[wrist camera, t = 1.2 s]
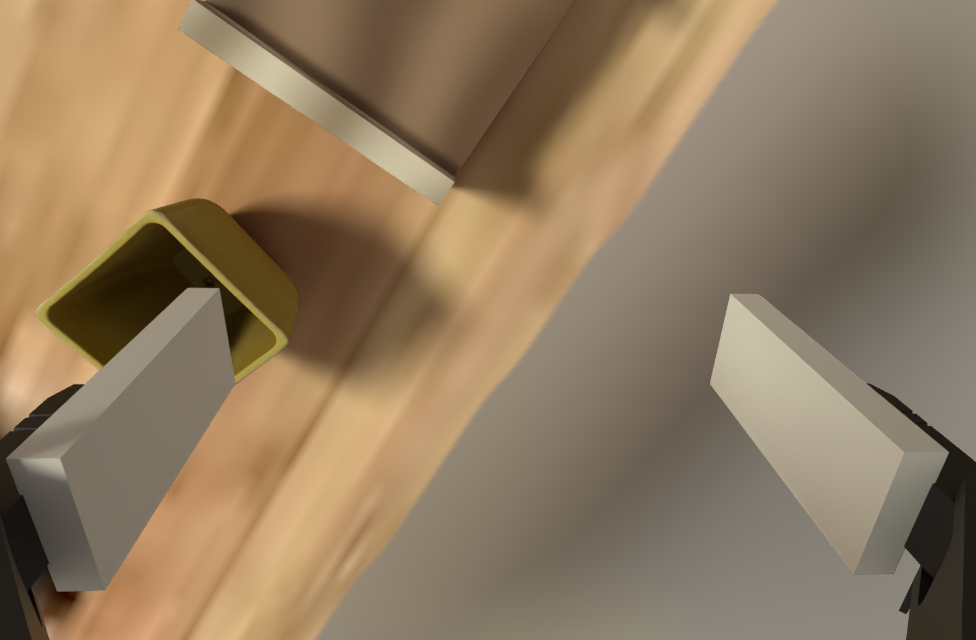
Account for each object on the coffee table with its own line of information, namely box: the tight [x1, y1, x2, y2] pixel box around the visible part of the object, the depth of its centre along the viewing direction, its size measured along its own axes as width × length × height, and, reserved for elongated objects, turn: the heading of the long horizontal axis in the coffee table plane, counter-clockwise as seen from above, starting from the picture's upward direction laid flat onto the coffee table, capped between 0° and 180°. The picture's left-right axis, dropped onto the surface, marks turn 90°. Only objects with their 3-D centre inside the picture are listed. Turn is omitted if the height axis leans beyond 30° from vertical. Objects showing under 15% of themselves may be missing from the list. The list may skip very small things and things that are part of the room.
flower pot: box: [35, 199, 299, 384], centre depth 33 cm, size 9×9×9 cm
